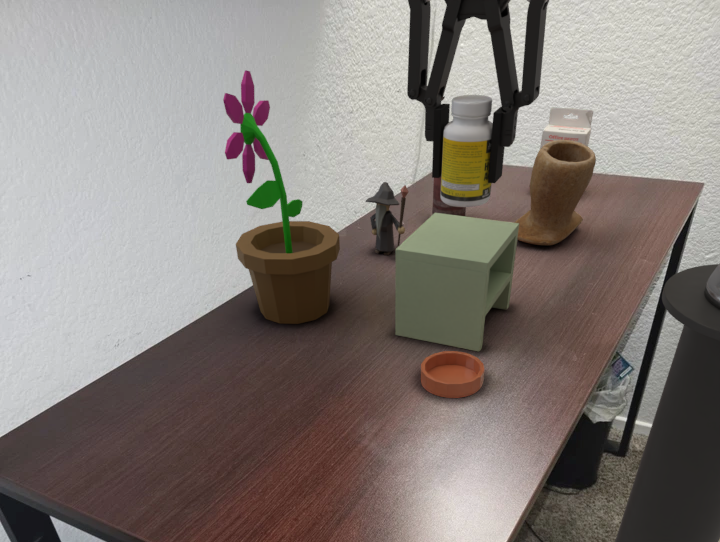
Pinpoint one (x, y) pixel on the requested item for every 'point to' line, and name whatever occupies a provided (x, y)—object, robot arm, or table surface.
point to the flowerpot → (279, 228)
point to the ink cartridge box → (568, 126)
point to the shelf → (453, 278)
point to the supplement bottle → (467, 152)
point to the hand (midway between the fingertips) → (466, 176)
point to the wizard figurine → (386, 218)
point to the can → (440, 205)
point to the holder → (452, 374)
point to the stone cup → (556, 192)
